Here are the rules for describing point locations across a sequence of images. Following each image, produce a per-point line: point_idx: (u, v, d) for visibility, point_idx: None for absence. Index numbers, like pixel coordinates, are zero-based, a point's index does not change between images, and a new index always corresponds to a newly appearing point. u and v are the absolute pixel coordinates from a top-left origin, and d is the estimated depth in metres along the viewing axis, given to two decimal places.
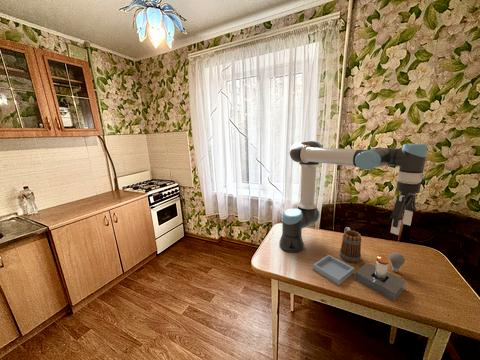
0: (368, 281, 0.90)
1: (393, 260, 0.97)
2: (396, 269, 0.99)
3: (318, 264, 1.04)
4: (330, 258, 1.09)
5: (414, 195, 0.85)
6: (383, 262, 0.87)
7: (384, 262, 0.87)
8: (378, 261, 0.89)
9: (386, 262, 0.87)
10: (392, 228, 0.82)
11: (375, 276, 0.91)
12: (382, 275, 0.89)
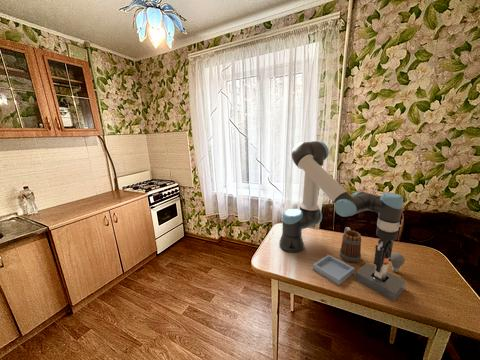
0: (368, 281, 0.90)
1: (393, 260, 0.97)
2: (396, 269, 0.99)
3: (318, 264, 1.04)
4: (330, 258, 1.09)
5: (392, 242, 0.89)
6: (383, 262, 0.87)
7: (384, 262, 0.87)
8: None
9: (386, 262, 0.87)
10: (376, 272, 0.90)
11: (375, 276, 0.91)
12: (382, 275, 0.89)
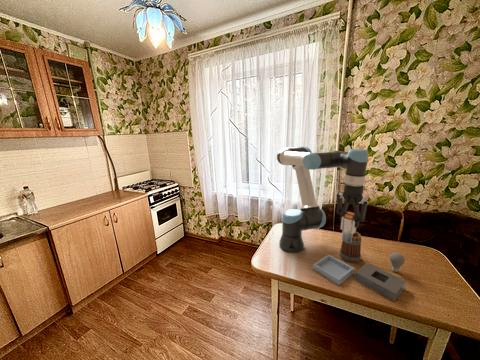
0: (368, 281, 0.90)
1: (393, 260, 0.97)
2: (396, 269, 0.99)
3: (318, 264, 1.04)
4: (330, 258, 1.09)
5: (362, 204, 0.86)
6: None
7: None
8: None
9: (345, 216, 0.92)
10: None
11: None
12: (343, 228, 0.95)
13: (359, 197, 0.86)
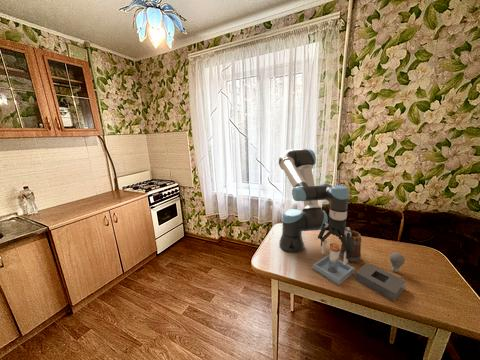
0: (368, 281, 0.90)
1: (393, 260, 0.97)
2: (396, 269, 0.99)
3: (318, 264, 1.04)
4: None
5: None
6: (330, 246, 1.00)
7: (330, 246, 0.99)
8: None
9: (330, 247, 0.98)
10: None
11: None
12: (329, 258, 1.01)
13: (341, 230, 0.93)
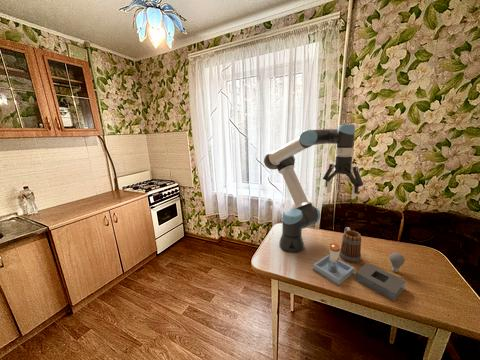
0: (368, 281, 0.90)
1: (393, 260, 0.97)
2: (396, 269, 0.99)
3: (318, 264, 1.04)
4: None
5: (353, 171, 0.97)
6: None
7: (330, 246, 0.99)
8: None
9: (330, 247, 0.98)
10: None
11: None
12: None
13: (348, 166, 0.98)
